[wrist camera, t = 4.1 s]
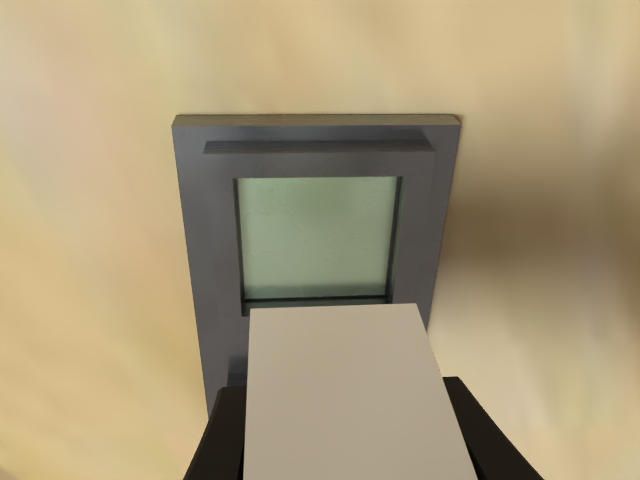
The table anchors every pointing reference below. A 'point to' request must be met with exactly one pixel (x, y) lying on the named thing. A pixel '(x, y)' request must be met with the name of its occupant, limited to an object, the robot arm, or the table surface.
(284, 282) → the panel
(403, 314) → the plug
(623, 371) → the table surface
